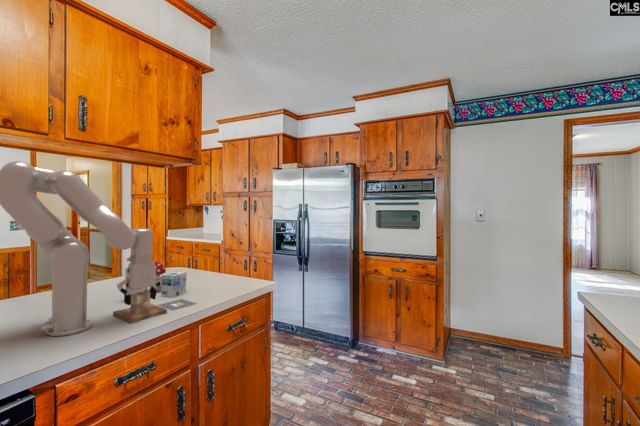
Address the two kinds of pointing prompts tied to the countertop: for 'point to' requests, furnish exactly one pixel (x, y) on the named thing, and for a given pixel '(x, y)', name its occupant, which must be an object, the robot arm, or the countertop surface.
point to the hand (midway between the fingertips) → (140, 301)
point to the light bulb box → (173, 284)
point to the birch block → (140, 302)
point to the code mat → (177, 304)
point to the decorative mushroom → (159, 273)
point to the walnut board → (139, 314)
